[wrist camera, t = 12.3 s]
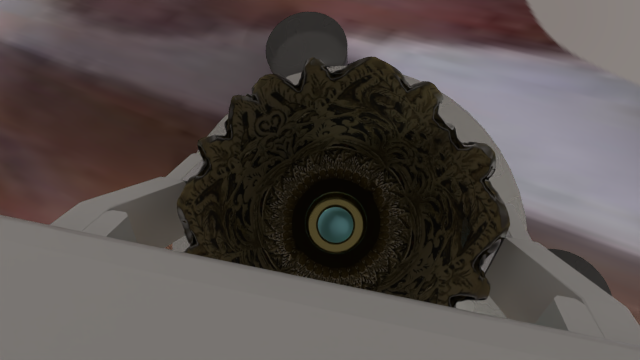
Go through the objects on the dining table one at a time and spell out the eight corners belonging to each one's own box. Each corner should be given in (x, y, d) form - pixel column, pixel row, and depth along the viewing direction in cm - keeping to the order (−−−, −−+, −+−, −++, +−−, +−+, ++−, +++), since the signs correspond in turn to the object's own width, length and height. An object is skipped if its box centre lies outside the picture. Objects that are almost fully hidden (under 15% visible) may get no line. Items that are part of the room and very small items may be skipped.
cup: (228, 202, 15) (120, 157, 8) (355, 120, 16) (376, 1, 8) (312, 343, 14) (287, 466, 6) (448, 248, 15) (582, 251, 7)
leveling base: (469, 13, 23) (506, -59, 18) (581, 346, 18) (679, 389, 13) (152, 83, 24) (95, 36, 19) (178, 414, 20) (111, 479, 14)
